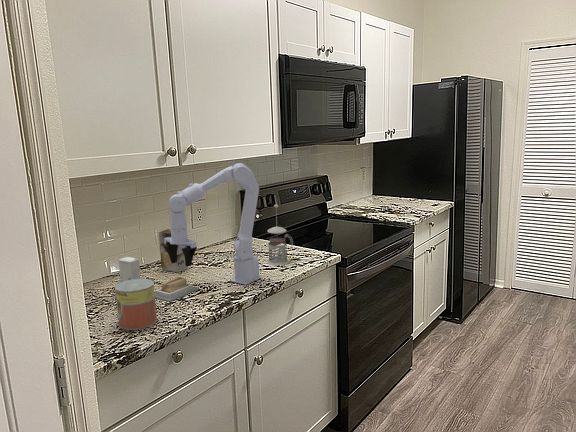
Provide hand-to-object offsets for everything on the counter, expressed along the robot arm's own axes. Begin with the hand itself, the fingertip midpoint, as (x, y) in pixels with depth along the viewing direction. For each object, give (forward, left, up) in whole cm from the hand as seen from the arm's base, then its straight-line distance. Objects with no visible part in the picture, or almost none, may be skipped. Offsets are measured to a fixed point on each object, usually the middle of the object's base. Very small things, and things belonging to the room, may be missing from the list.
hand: (181, 264), depth 172 cm
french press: (-42, +14, -9) cm, 45 cm away
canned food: (+30, +12, -9) cm, 33 cm away
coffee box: (-12, -18, -9) cm, 24 cm away
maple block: (+7, +3, -8) cm, 11 cm away
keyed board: (+7, +3, -8) cm, 11 cm away
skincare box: (+14, -12, -9) cm, 20 cm away
